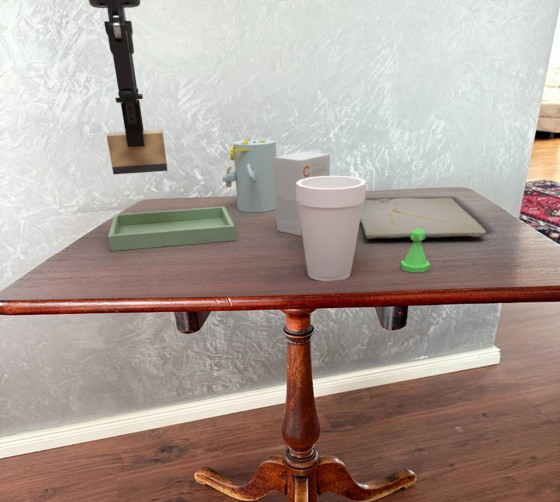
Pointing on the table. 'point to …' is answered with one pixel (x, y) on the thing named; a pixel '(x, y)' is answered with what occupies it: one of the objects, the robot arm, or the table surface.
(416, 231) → the game piece
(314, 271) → the foam cup
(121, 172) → the eraser
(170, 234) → the tray
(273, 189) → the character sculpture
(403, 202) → the decorative slab
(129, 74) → the robot arm
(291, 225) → the small box
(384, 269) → the table surface
